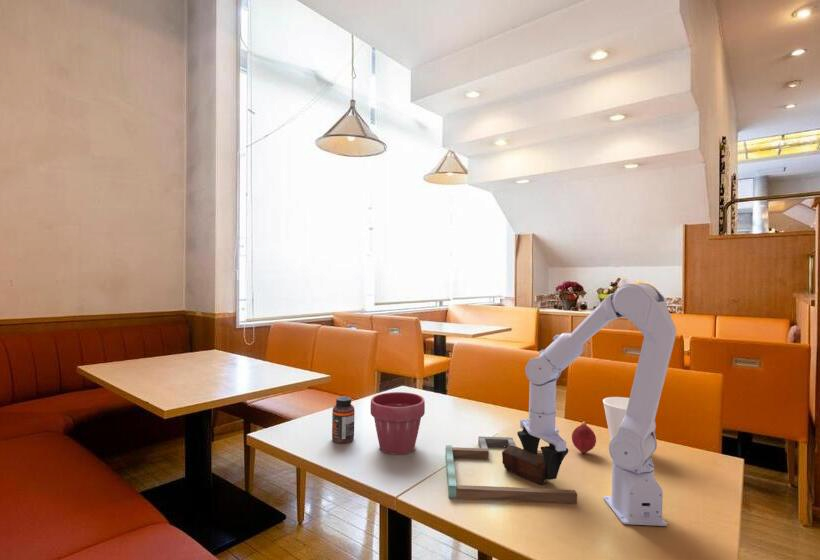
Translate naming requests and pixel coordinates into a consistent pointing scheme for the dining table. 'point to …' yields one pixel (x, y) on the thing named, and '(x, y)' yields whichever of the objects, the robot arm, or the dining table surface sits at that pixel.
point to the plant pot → (397, 420)
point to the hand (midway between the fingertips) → (540, 470)
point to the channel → (497, 492)
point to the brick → (524, 464)
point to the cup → (615, 413)
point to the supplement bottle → (343, 420)
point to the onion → (583, 438)
